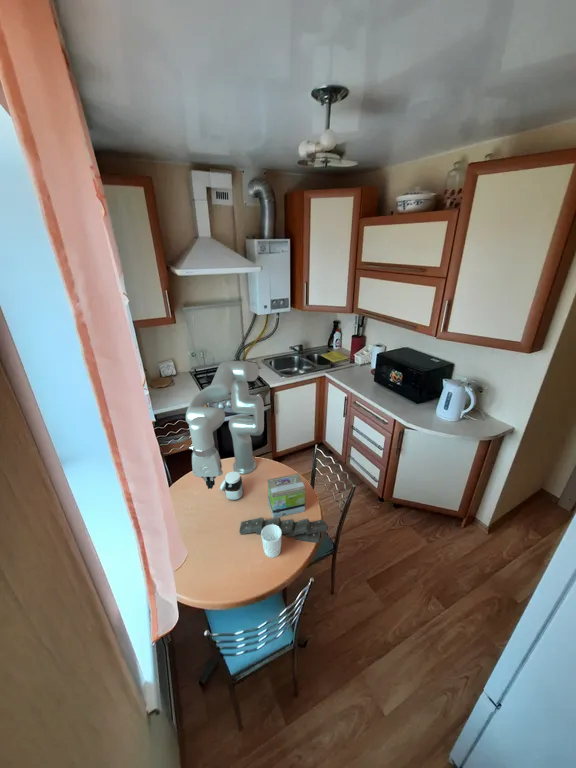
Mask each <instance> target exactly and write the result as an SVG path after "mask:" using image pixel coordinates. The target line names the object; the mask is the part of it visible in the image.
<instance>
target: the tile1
mask: <svg viewBox="0 0 576 768" xmlns="http://www.w3.org/2000/svg"><path fill="white" fill-rule="evenodd" d="M280 521H282V520H281V518H280V517H277V518H271V519H264V527H265V526H267V525H271V524H273V525H277V526H278V527H279V528H280ZM261 532H262V530H261V531H256V532H255V533H256V535H261Z"/></svg>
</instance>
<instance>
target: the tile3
mask: <svg viewBox="0 0 576 768" xmlns="http://www.w3.org/2000/svg"><path fill="white" fill-rule="evenodd" d="M310 522H311V521H310V520H309V518H304V519H301V520H298V521H294V532H291V533H286V534H285V536H286V537H287V538H291V537H295V535H298V534H302V533H305V532H309V523H310Z"/></svg>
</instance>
